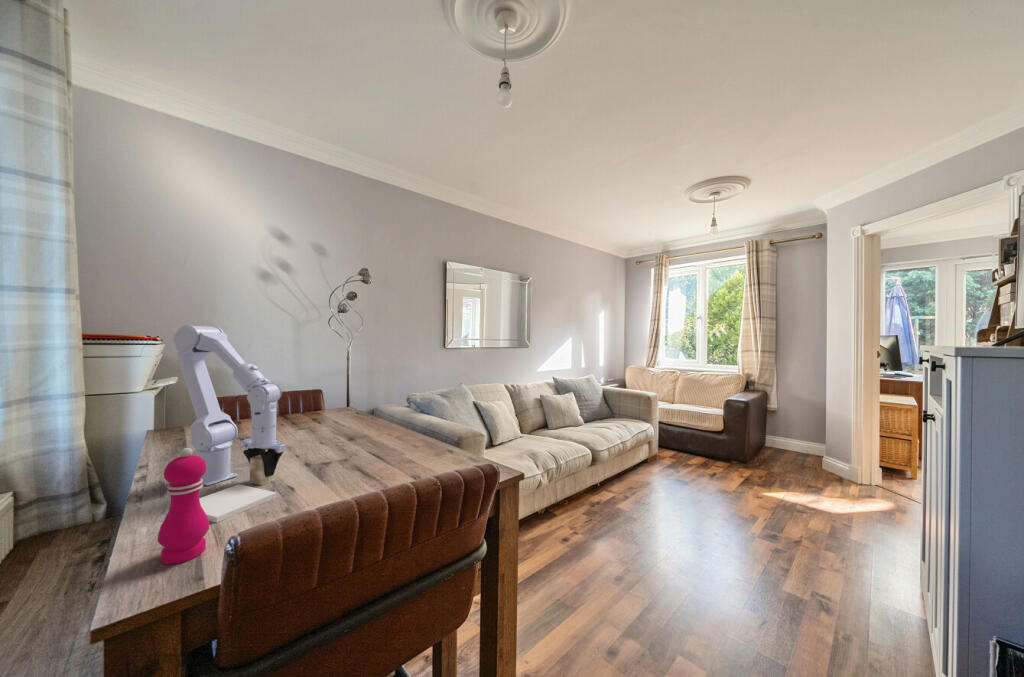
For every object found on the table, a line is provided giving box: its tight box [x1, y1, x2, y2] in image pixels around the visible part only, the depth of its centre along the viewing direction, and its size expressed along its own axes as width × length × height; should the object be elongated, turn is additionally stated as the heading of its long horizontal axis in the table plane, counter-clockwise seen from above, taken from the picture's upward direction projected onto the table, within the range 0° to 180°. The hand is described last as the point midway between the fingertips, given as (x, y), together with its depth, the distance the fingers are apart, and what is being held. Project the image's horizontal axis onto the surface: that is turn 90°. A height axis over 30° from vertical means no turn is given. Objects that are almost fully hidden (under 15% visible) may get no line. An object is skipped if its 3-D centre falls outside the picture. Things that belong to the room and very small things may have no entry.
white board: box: [199, 484, 278, 523], centre depth 89 cm, size 14×14×1 cm
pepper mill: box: [157, 447, 210, 565], centre depth 69 cm, size 7×7×20 cm
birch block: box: [249, 455, 277, 486], centre depth 104 cm, size 4×4×7 cm
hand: (263, 474), depth 104 cm, fingers closed on birch block, 4 cm apart
